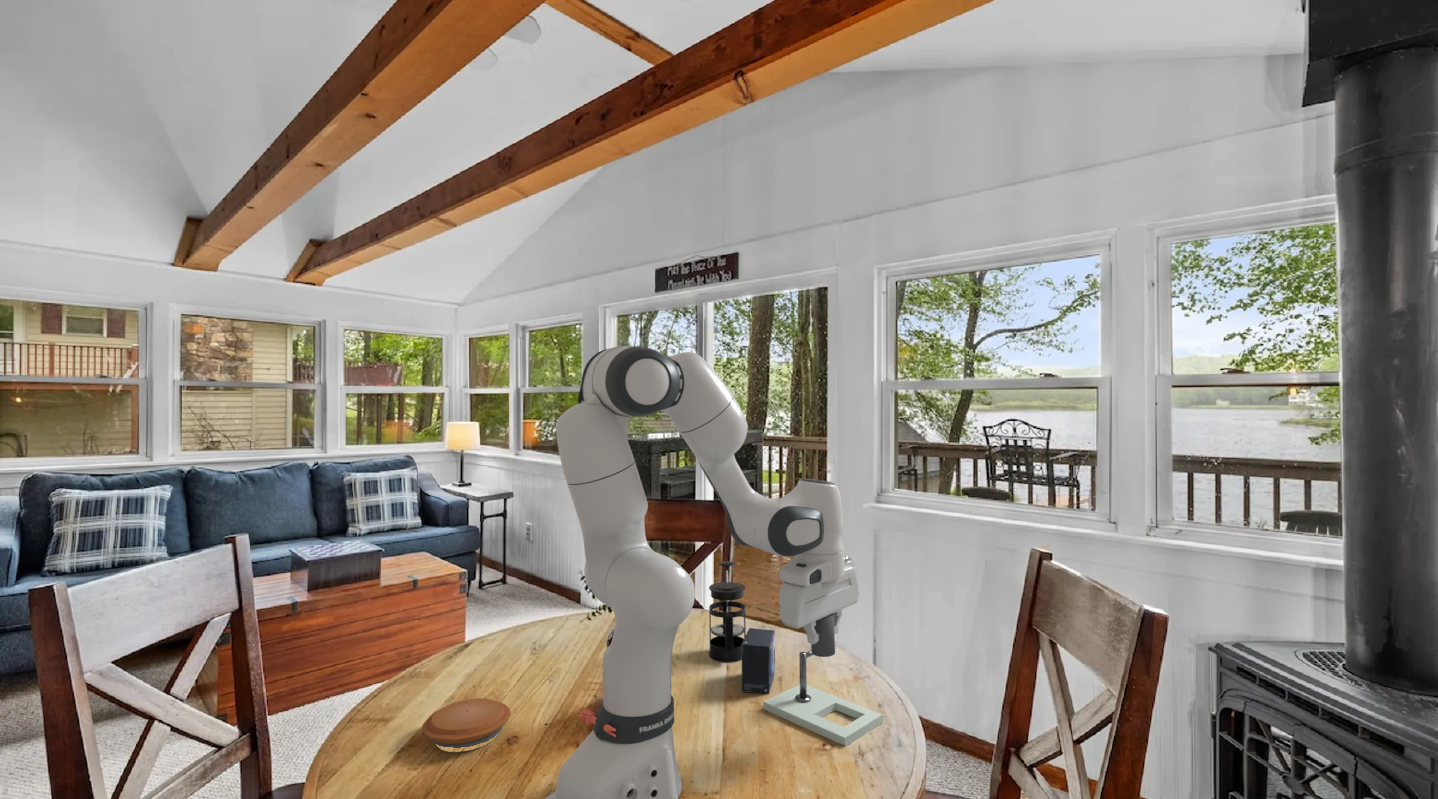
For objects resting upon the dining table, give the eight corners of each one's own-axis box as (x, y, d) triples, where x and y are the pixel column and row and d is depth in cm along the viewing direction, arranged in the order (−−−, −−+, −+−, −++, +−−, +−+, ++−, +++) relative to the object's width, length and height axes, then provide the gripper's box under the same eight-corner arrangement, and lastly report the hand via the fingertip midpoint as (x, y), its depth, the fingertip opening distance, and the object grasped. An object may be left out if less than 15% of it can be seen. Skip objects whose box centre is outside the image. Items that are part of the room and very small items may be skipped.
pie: (508, 711, 132) (508, 687, 132) (513, 749, 117) (513, 721, 117) (425, 726, 126) (425, 700, 126) (419, 767, 112) (419, 738, 112)
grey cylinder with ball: (806, 652, 121) (805, 612, 121) (820, 645, 124) (819, 606, 124) (825, 659, 118) (824, 618, 118) (839, 651, 121) (838, 611, 121)
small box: (770, 695, 138) (770, 645, 138) (740, 692, 139) (740, 643, 140) (776, 674, 148) (775, 628, 149) (748, 672, 150) (747, 627, 150)
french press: (708, 647, 165) (707, 557, 165) (744, 646, 166) (743, 556, 166) (709, 666, 154) (709, 569, 154) (749, 664, 154) (748, 568, 154)
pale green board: (845, 746, 117) (845, 737, 117) (763, 709, 132) (763, 701, 132) (882, 722, 126) (882, 714, 126) (802, 690, 140) (802, 683, 140)
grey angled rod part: (804, 704, 130) (804, 657, 130) (792, 699, 133) (791, 652, 133) (824, 694, 135) (823, 648, 135) (812, 689, 137) (811, 644, 137)
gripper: (839, 551, 131) (841, 619, 131) (772, 573, 116) (775, 649, 117) (866, 556, 126) (868, 627, 126) (800, 579, 112) (802, 659, 112)
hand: (822, 638), depth 121 cm, fingers closed on grey cylinder with ball, 4 cm apart
